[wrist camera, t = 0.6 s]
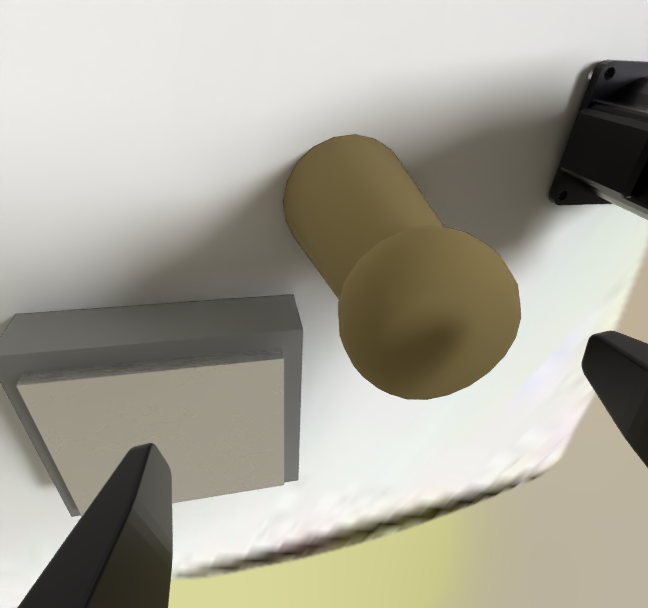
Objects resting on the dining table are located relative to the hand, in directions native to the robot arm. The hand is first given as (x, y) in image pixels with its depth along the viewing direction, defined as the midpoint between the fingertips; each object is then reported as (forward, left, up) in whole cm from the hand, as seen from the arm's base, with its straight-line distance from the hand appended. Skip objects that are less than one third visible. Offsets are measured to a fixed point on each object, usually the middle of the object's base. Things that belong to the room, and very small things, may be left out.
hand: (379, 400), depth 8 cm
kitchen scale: (+6, +12, -13) cm, 18 cm away
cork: (-3, +1, -13) cm, 13 cm away
